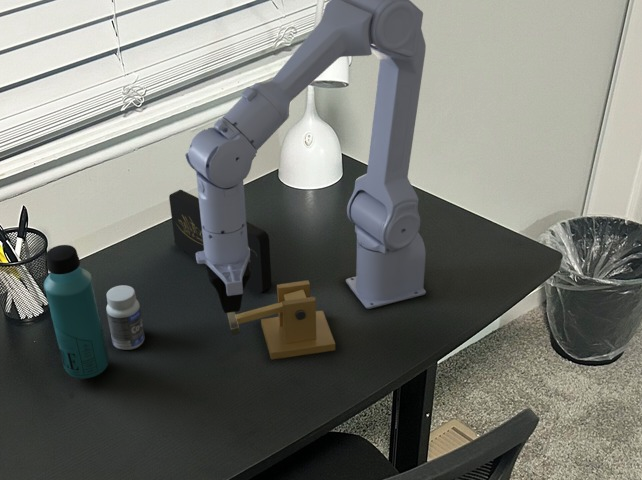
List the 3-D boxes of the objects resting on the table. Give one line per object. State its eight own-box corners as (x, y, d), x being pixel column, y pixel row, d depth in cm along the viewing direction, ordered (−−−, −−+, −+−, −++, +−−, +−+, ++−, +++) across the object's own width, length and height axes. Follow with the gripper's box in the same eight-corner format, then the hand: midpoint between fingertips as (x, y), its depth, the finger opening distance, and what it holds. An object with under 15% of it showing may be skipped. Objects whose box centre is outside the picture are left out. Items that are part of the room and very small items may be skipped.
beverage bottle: (118, 361, 128) (95, 239, 116) (99, 392, 124) (73, 267, 111) (77, 355, 130) (49, 234, 118) (56, 385, 126) (25, 262, 113)
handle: (233, 339, 125) (229, 325, 123) (228, 317, 129) (224, 304, 127) (311, 317, 124) (308, 303, 123) (304, 297, 128) (301, 283, 126)
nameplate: (271, 289, 139) (268, 232, 133) (262, 294, 138) (259, 237, 132) (184, 241, 152) (177, 187, 146) (175, 246, 151) (168, 192, 145)
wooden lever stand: (271, 359, 126) (268, 314, 121) (261, 325, 132) (258, 280, 127) (335, 350, 126) (335, 304, 121) (322, 316, 132) (322, 271, 128)
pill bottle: (140, 351, 130) (132, 303, 125) (108, 350, 131) (99, 302, 125) (148, 331, 133) (141, 283, 128) (117, 330, 134) (108, 282, 129)
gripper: (186, 199, 122) (196, 284, 130) (198, 256, 110) (208, 345, 119) (239, 192, 122) (245, 277, 130) (256, 248, 111) (262, 337, 119)
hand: (231, 309), depth 125 cm, fingers closed
